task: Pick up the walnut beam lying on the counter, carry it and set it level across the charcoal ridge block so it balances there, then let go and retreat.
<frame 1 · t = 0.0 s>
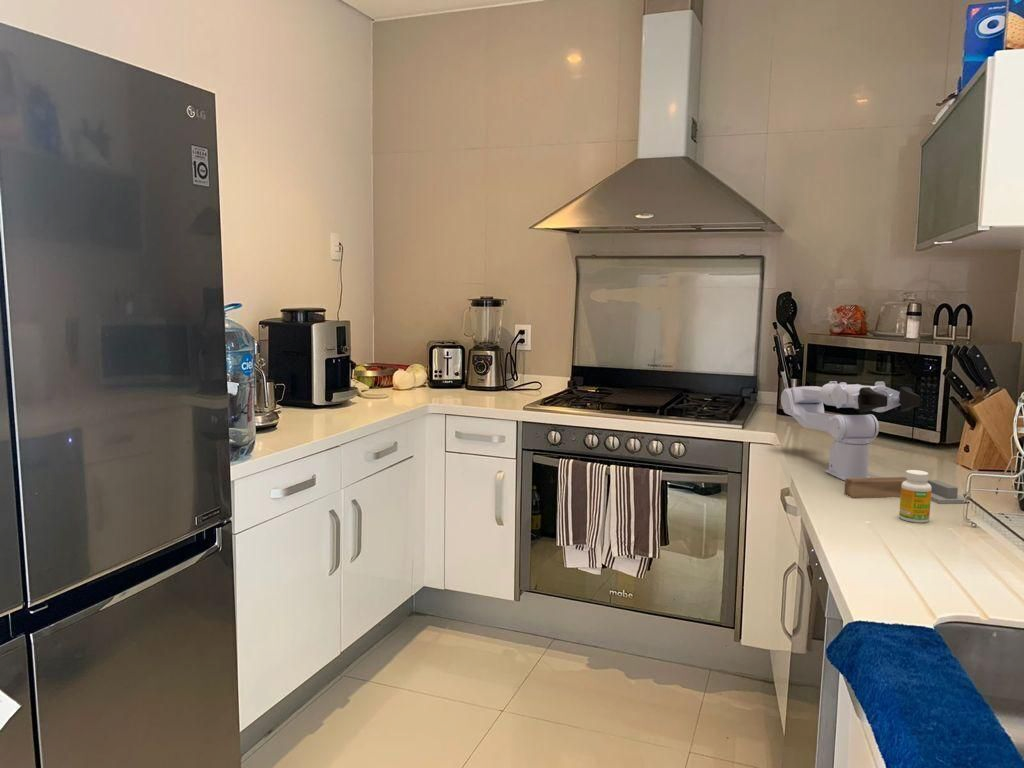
hand: (902, 401, 170), 22 cm above the worktop, tool horizontal, fingers open, 7 cm apart
beam: (878, 496, 174), on the worktop
supplement bottle: (913, 520, 156), on the worktop
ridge: (941, 497, 172), on the worktop
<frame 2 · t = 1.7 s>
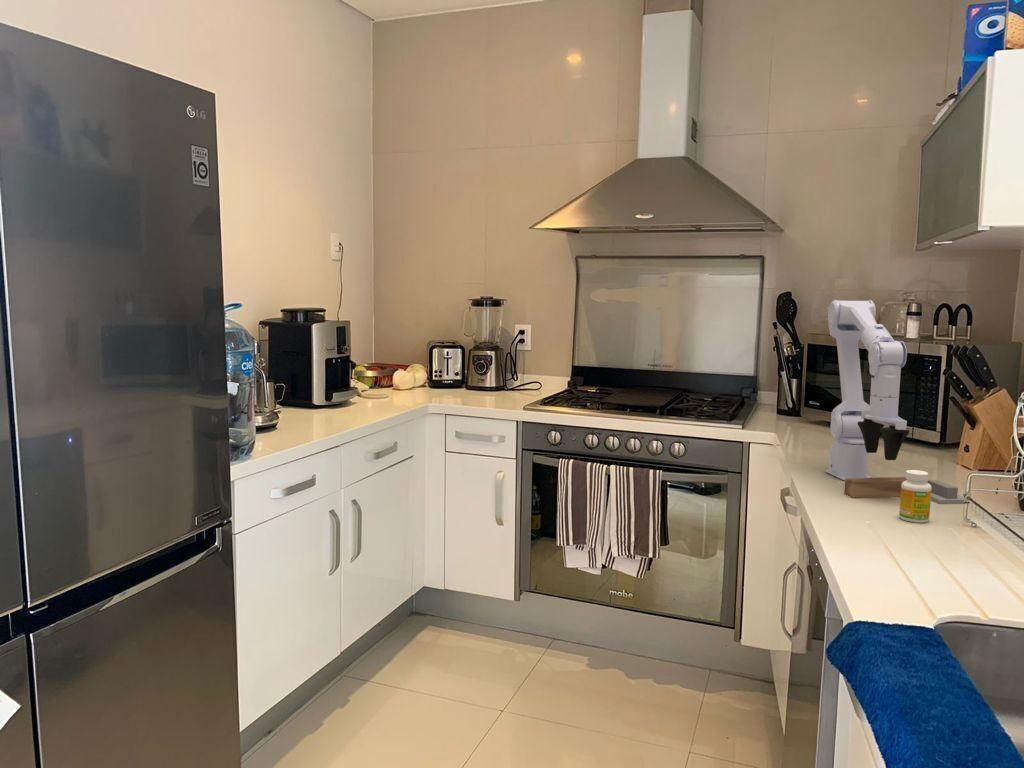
hand: (880, 456, 173), 9 cm above the worktop, tool pointing down, fingers open, 7 cm apart
nothing on the worktop moved.
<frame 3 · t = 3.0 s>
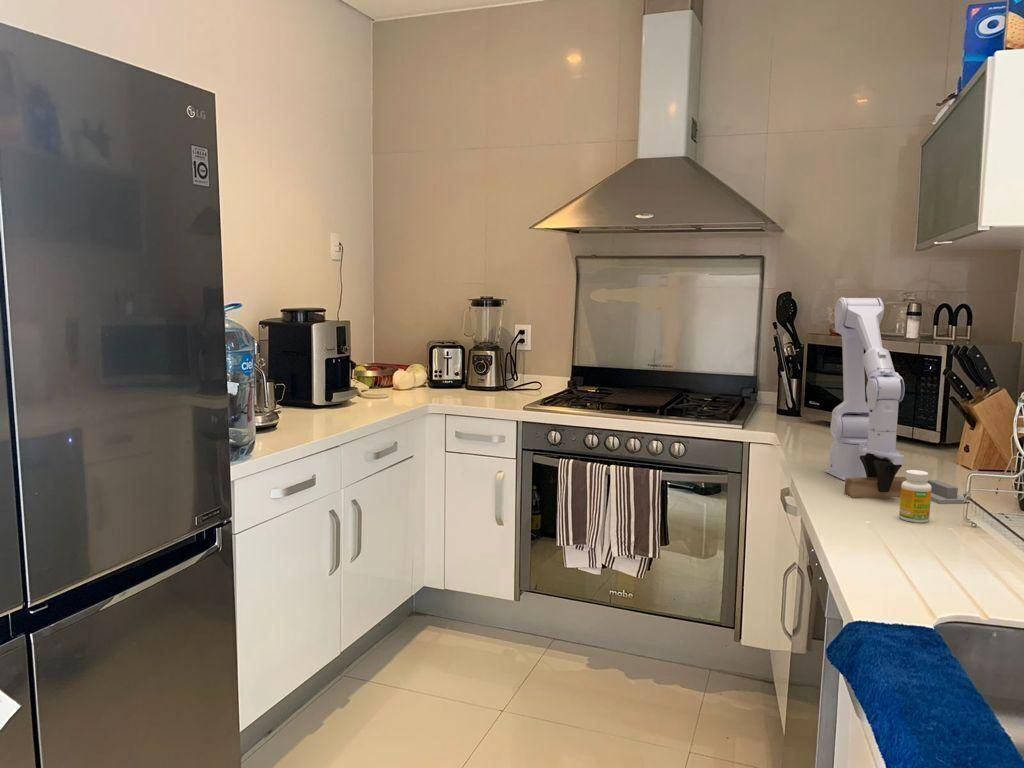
hand: (878, 489, 174), 1 cm above the worktop, tool pointing down, fingers closed on beam, 3 cm apart
beam: (878, 496, 174), on the worktop, touching gripper
everything else where it was.
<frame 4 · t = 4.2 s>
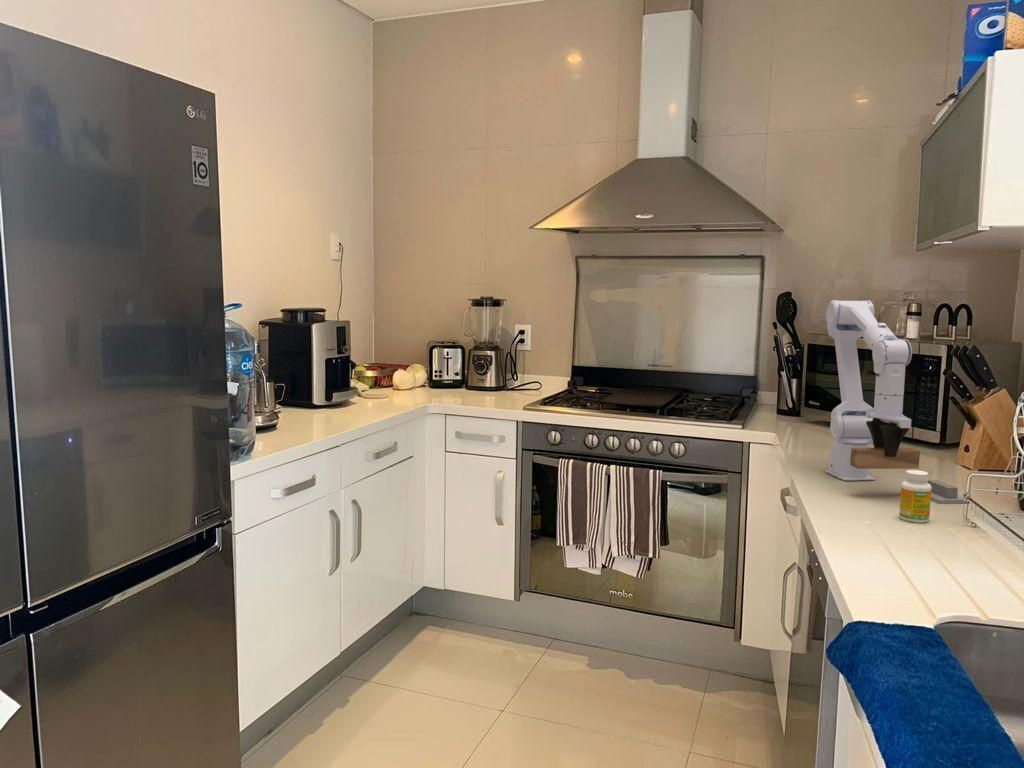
hand: (885, 454, 173), 9 cm above the worktop, tool pointing down, fingers closed on beam, 3 cm apart
beam: (884, 466, 173), point 7 cm above the worktop, touching gripper
everything else where it was.
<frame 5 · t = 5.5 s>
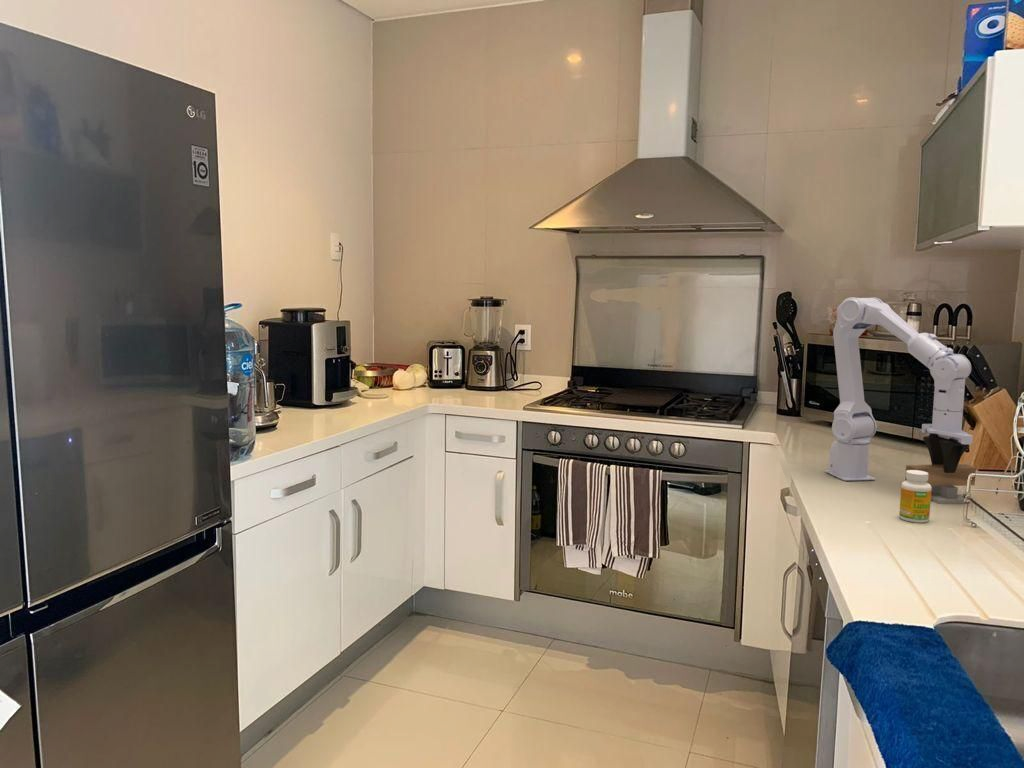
hand: (943, 470, 172), 6 cm above the worktop, tool pointing down, fingers closed on beam, 3 cm apart
beam: (939, 484, 172), point 3 cm above the worktop, touching gripper, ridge
everything else where it was.
when the fingers open (6 cm above the worktop, at t = 5.9 s): beam stays where it is, resting on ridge.
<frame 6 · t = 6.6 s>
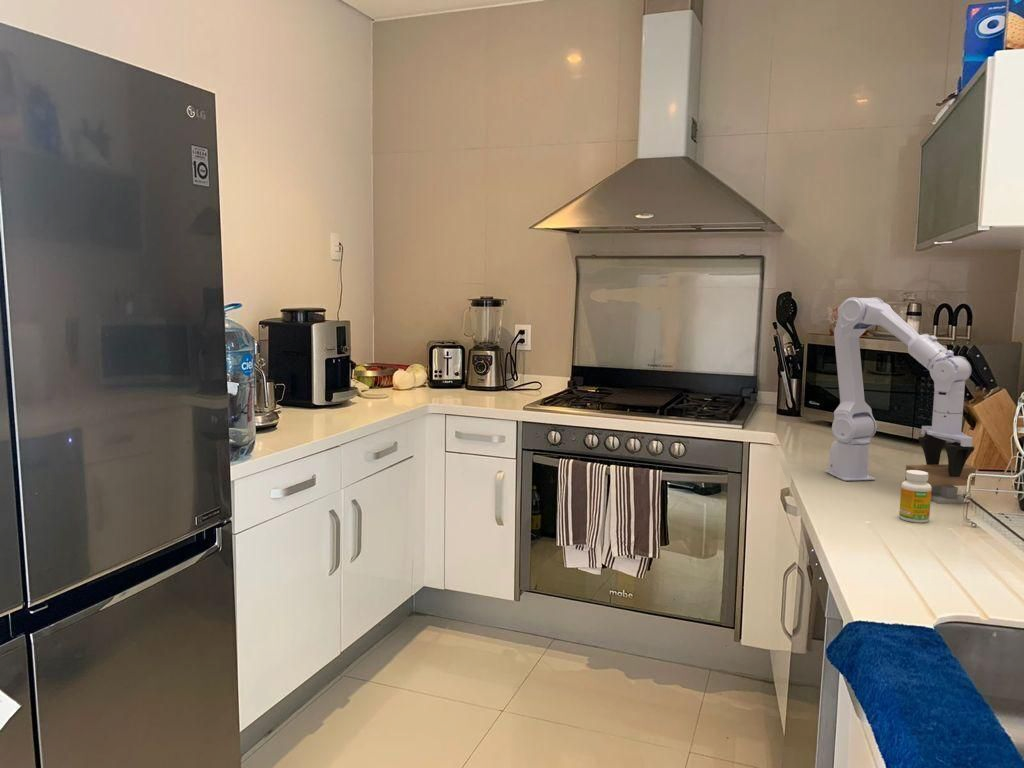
hand: (943, 472, 172), 6 cm above the worktop, tool pointing down, fingers open, 7 cm apart
beam: (939, 484, 172), point 3 cm above the worktop, touching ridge
everything else where it was.
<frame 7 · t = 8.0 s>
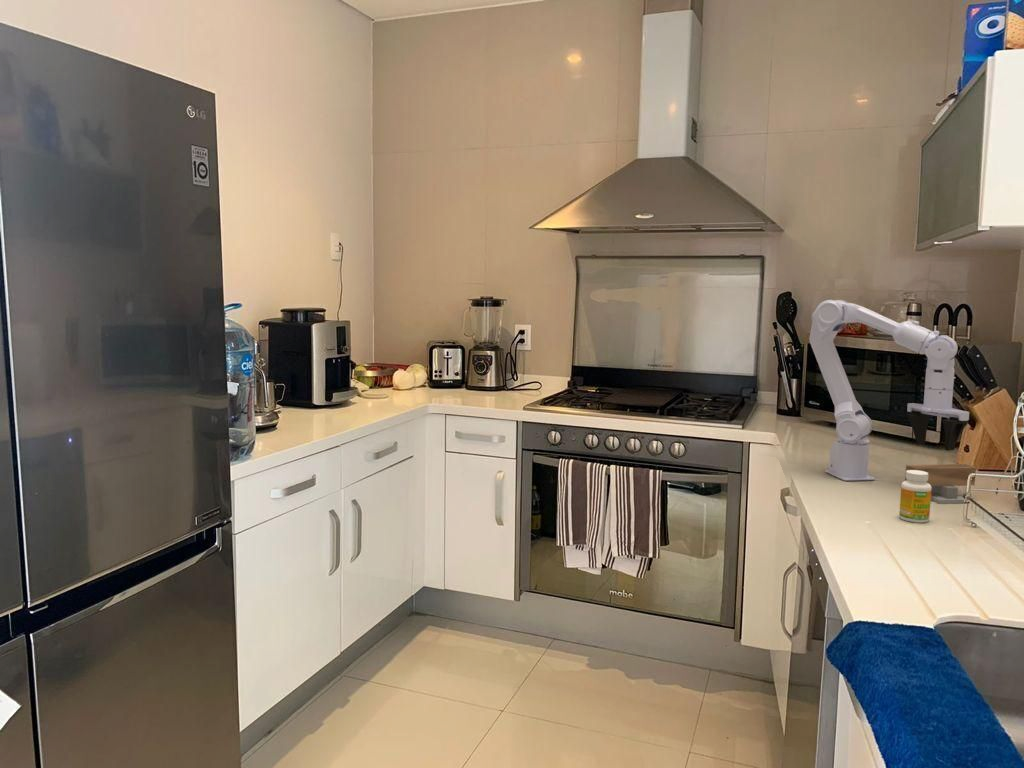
hand: (934, 446, 179), 10 cm above the worktop, tool pointing down, fingers open, 7 cm apart
nothing on the worktop moved.
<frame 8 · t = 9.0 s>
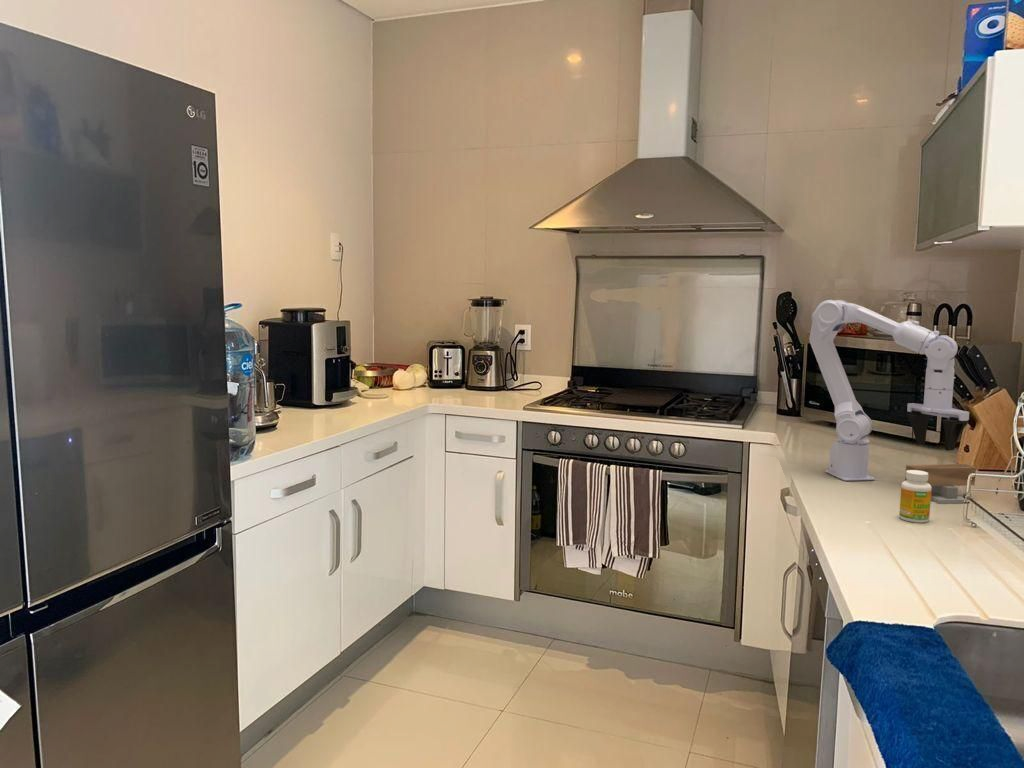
hand: (934, 446, 179), 10 cm above the worktop, tool pointing down, fingers open, 7 cm apart
nothing on the worktop moved.
at the end: beam 0.7 cm off-centre on the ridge, point 3.2 cm above the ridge's base; beam tilted 0°; beam touching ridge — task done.
